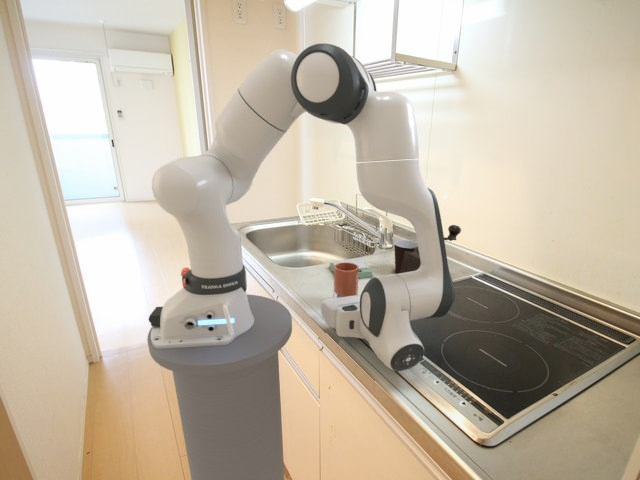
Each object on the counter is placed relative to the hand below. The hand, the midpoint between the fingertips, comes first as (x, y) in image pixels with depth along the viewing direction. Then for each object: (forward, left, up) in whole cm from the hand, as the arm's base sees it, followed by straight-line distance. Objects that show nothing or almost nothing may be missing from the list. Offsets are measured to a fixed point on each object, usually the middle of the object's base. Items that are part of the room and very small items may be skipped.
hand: (353, 292), depth 93 cm
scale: (+9, +27, -6) cm, 29 cm away
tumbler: (0, +6, -6) cm, 8 cm away
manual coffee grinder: (+32, +16, -6) cm, 36 cm away
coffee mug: (+28, +22, -6) cm, 36 cm away
